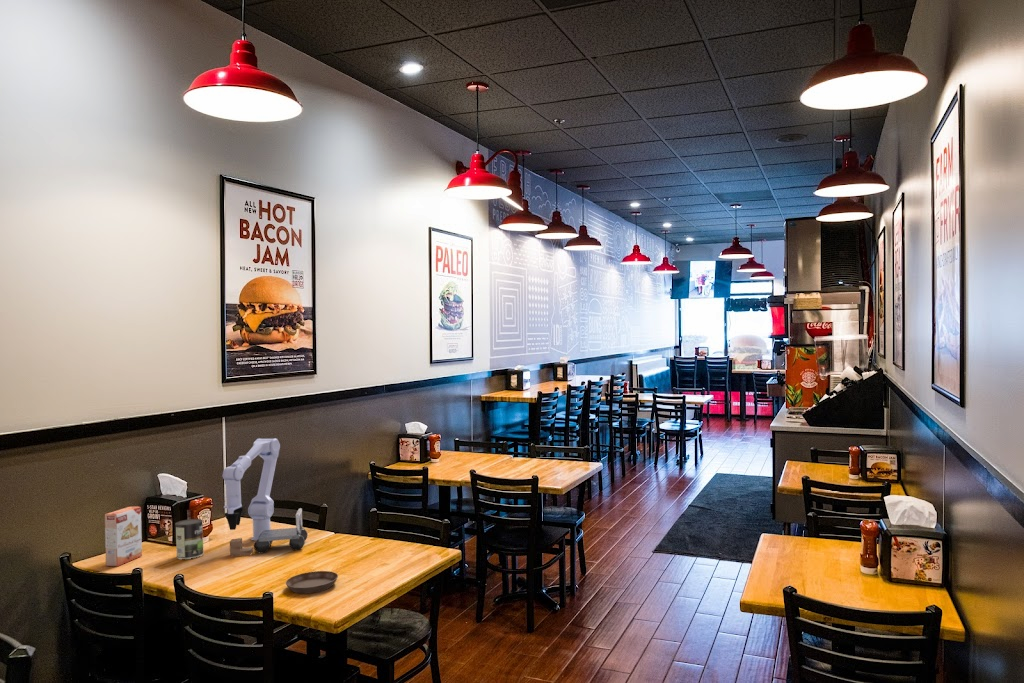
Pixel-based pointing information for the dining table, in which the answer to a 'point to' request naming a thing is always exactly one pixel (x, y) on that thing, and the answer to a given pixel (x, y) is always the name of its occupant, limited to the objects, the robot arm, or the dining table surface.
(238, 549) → the brown l-shaped block
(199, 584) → the dining table surface
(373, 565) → the dining table surface
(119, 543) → the cracker box
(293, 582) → the plant saucer
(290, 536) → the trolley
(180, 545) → the coffee can
